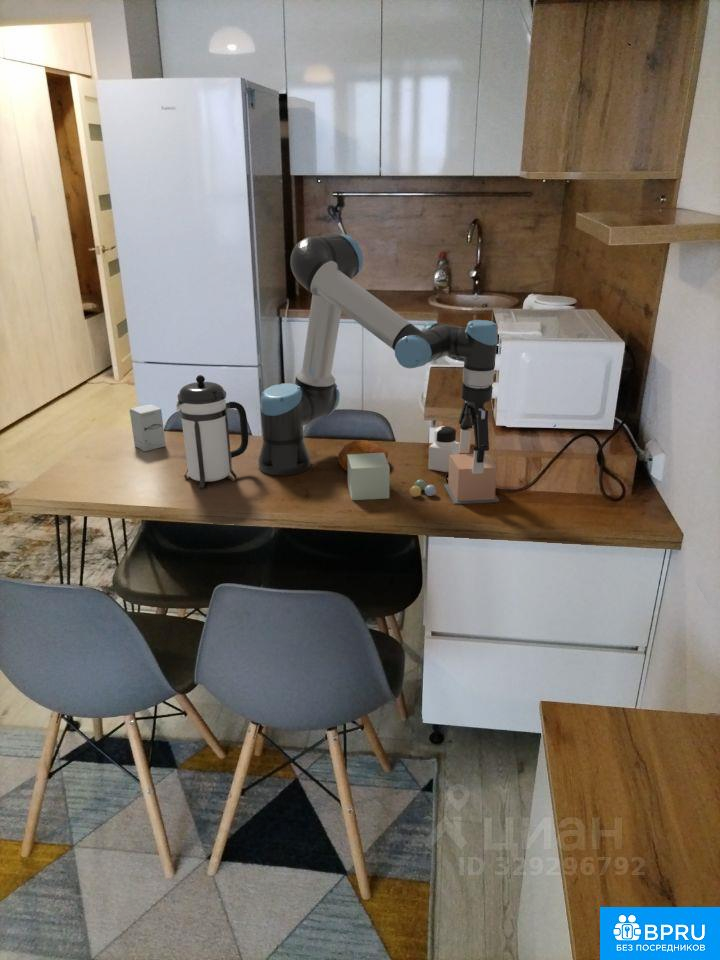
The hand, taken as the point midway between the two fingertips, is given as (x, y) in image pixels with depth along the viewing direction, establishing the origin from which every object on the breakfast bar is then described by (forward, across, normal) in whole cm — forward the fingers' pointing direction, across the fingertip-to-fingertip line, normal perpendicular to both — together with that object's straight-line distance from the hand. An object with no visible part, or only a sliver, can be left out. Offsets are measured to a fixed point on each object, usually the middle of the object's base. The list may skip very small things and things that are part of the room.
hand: (470, 462), depth 182 cm
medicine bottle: (+9, +18, +2) cm, 21 cm away
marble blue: (+9, 0, +10) cm, 14 cm away
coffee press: (+11, +19, +68) cm, 72 cm away
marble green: (+9, +3, +12) cm, 16 cm away
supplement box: (+12, +47, +90) cm, 103 cm away
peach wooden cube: (+8, -1, -1) cm, 8 cm away
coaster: (+9, -1, -1) cm, 9 cm away
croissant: (+10, +23, +25) cm, 36 cm away
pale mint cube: (+9, +4, +26) cm, 28 cm away
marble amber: (+9, 0, +14) cm, 17 cm away
